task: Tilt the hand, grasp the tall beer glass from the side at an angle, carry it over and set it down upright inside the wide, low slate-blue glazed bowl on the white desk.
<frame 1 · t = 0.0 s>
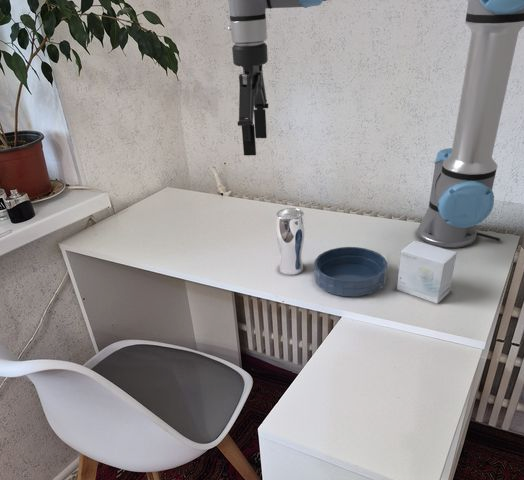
hand: (255, 146, 121), 28 cm above the table, tool pointing down, fingers open, 13 cm apart
cosmetics box: (422, 292, 118), on the table
bowl: (349, 279, 124), on the table
beer glass: (291, 269, 130), on the table
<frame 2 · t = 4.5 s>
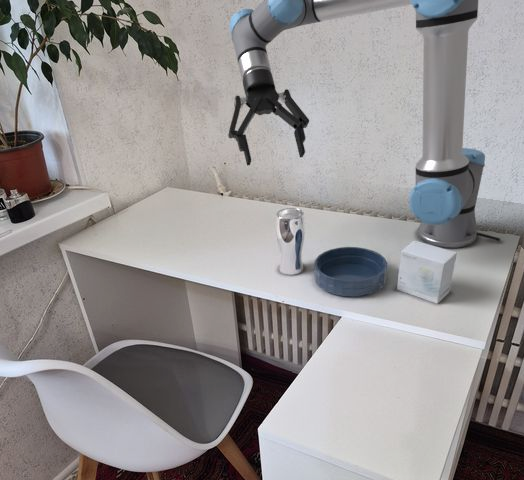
hand: (276, 158, 124), 25 cm above the table, tool tilted 40°, fingers open, 13 cm apart
nothing on the table moved.
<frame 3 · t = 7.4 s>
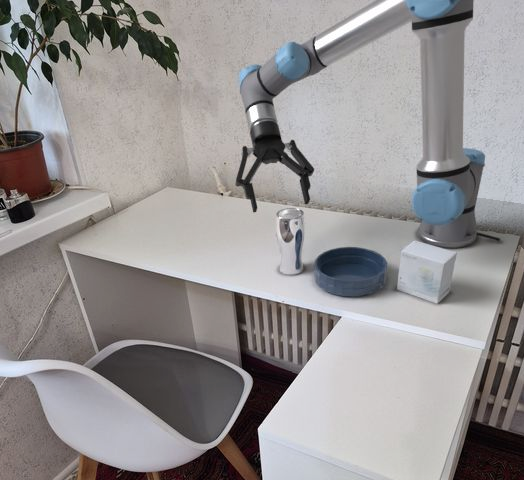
hand: (281, 206, 127), 14 cm above the table, tool tilted 45°, fingers open, 13 cm apart
nothing on the table moved.
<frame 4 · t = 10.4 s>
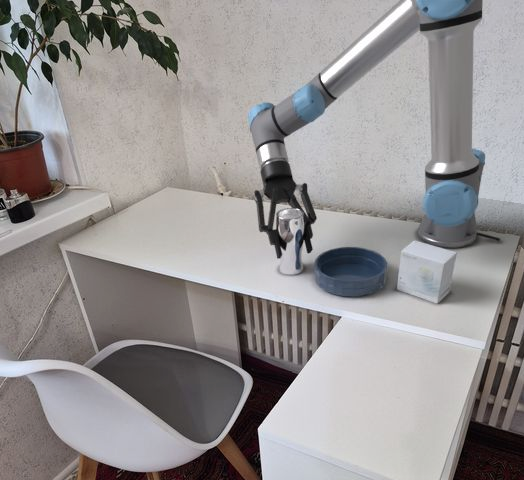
hand: (295, 253, 124), 6 cm above the table, tool tilted 45°, fingers closed on beer glass, 7 cm apart
beer glass: (291, 269, 130), on the table, touching gripper
everything else where it was.
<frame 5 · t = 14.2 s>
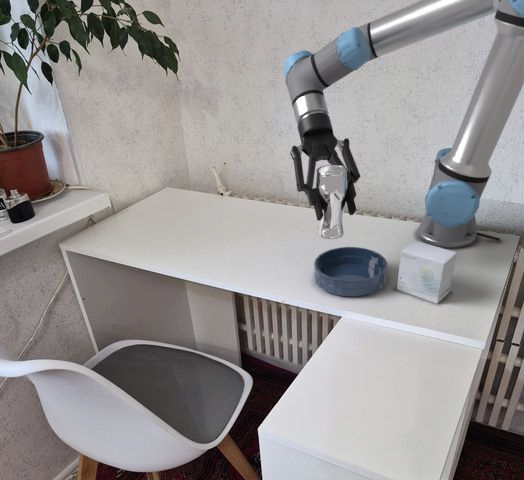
hand: (336, 215, 113), 17 cm above the table, tool tilted 45°, fingers closed on beer glass, 7 cm apart
beer glass: (330, 234, 120), point 11 cm above the table, touching gripper
everything else where it was.
when the fingers open (7 cm above the table, at t = 18.3 s): beer glass stays where it is, resting on bowl.
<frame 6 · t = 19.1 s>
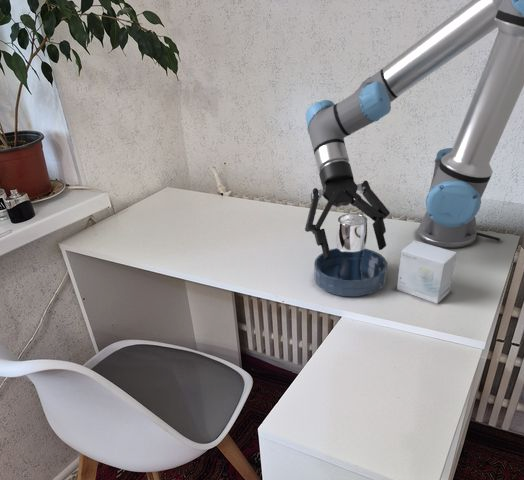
hand: (355, 252, 118), 8 cm above the table, tool tilted 45°, fingers open, 13 cm apart
beer glass: (349, 277, 124), resting on bowl
everything else where it was.
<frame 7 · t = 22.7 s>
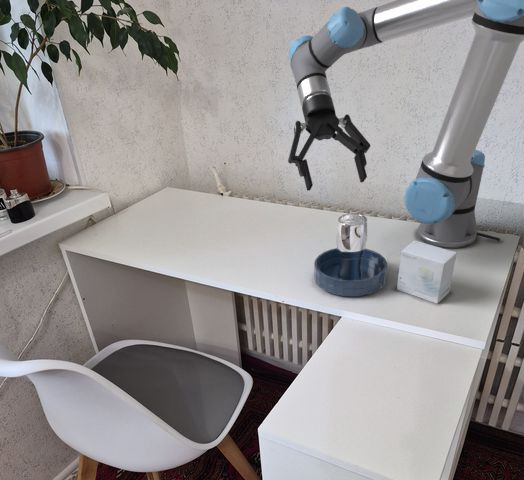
hand: (337, 183, 121), 20 cm above the table, tool tilted 45°, fingers open, 13 cm apart
nothing on the table moved.
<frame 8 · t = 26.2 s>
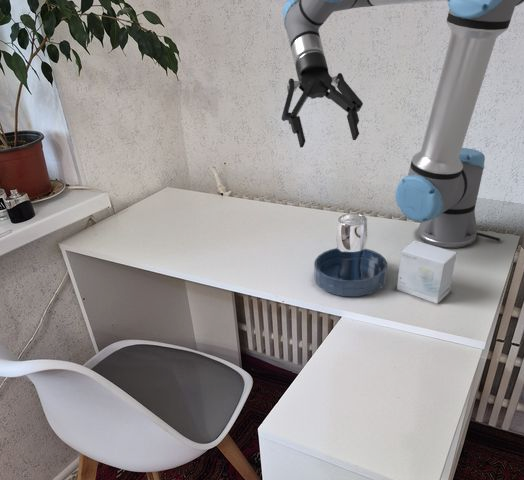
hand: (329, 140, 123), 28 cm above the table, tool tilted 45°, fingers open, 13 cm apart
nothing on the table moved.
at the end: beer glass 0.1 cm off-centre in the bowl, point 0.4 cm above the bowl's base; beer glass tilted 0°; the gripper is holding nothing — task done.
